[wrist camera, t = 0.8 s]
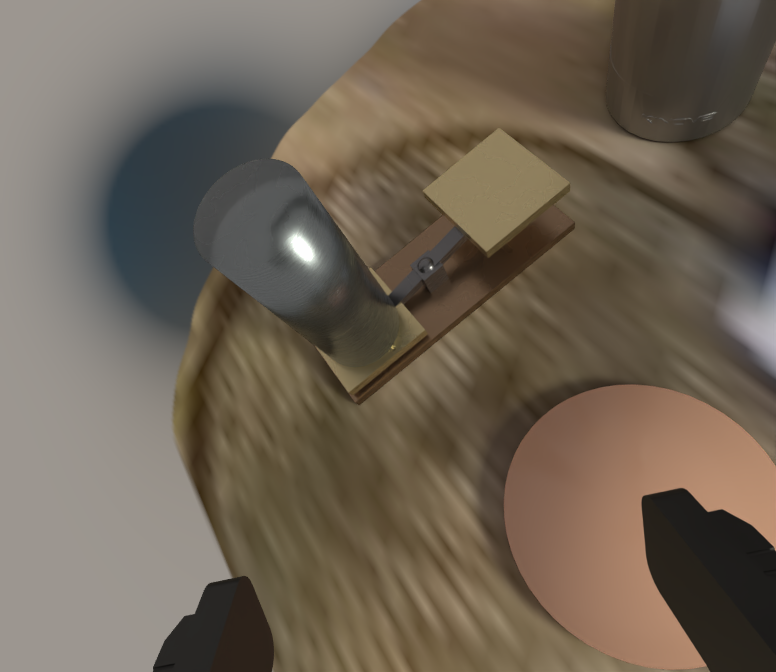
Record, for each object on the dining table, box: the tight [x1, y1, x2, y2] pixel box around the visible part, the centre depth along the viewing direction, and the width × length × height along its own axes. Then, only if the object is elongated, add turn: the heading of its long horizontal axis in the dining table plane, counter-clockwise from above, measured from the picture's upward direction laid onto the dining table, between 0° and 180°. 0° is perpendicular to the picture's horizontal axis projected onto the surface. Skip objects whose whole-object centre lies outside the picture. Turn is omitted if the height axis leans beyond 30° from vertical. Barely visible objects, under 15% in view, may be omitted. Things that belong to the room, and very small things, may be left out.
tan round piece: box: [504, 384, 776, 670], centre depth 28 cm, size 14×14×1 cm
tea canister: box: [193, 159, 399, 367], centre depth 29 cm, size 6×6×14 cm
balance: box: [314, 128, 575, 405], centre depth 35 cm, size 19×7×5 cm, turn 126°
